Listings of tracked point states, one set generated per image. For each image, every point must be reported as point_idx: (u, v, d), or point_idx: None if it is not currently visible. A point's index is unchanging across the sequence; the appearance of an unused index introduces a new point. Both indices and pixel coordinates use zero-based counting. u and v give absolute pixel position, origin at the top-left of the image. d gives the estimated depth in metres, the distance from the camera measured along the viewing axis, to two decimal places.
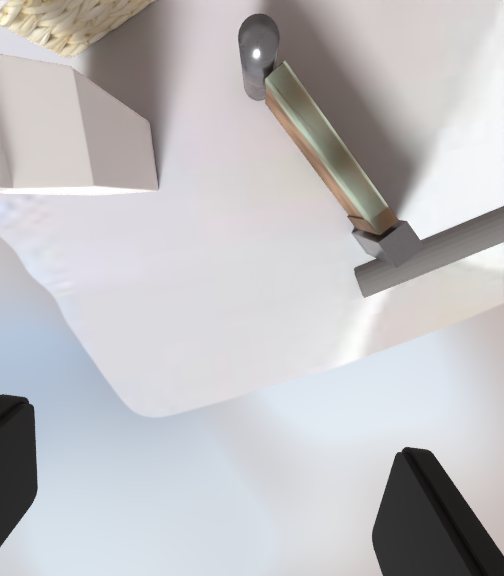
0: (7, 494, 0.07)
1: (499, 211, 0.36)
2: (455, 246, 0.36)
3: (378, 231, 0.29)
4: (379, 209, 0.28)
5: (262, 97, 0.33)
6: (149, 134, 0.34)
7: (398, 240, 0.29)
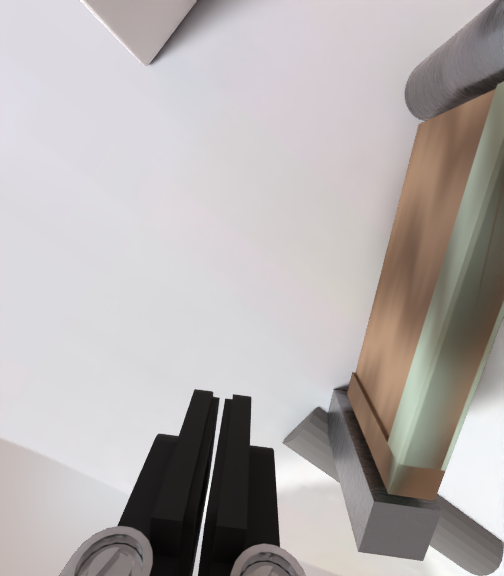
0: (208, 474, 0.09)
1: (481, 531, 0.25)
2: None
3: (392, 488, 0.14)
4: (428, 463, 0.13)
5: (422, 112, 0.17)
6: None
7: (402, 523, 0.14)
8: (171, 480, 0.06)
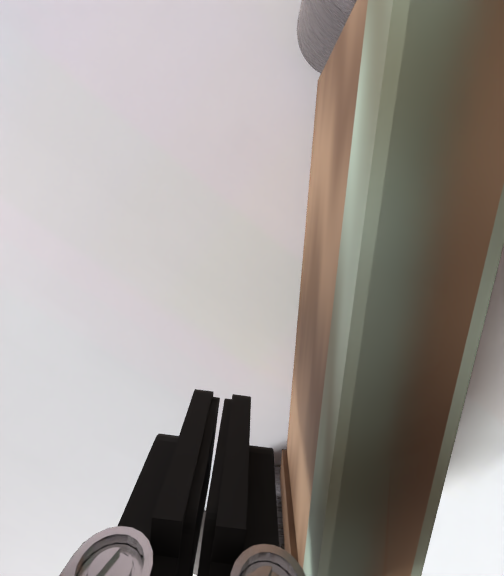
0: (208, 474, 0.09)
1: None
2: None
3: None
4: None
5: (320, 60, 0.11)
6: None
7: None
8: (171, 480, 0.06)
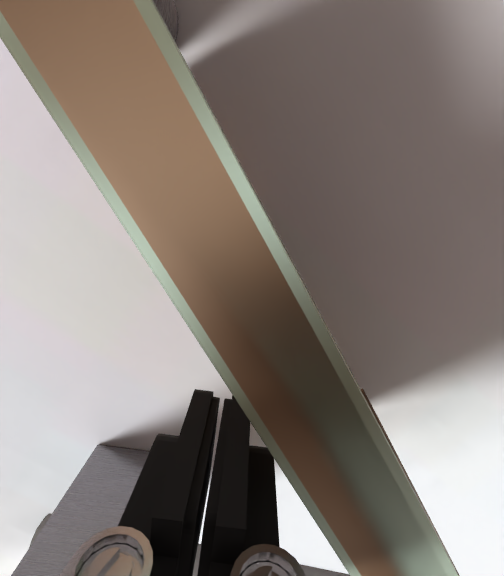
0: (208, 474, 0.09)
1: None
2: None
3: None
4: None
5: None
6: None
7: None
8: (171, 480, 0.06)
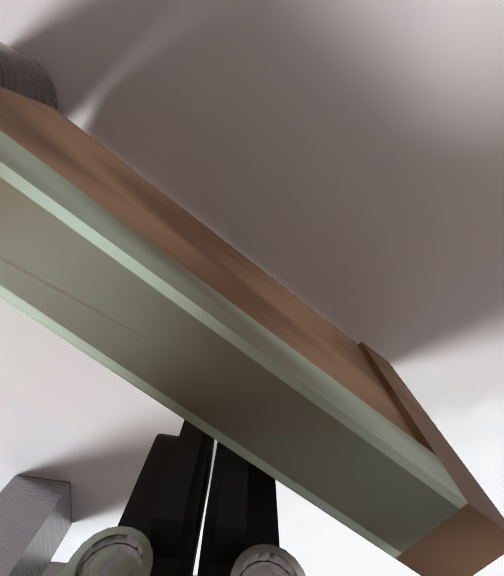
0: (208, 474, 0.09)
1: None
2: None
3: None
4: (430, 519, 0.07)
5: None
6: None
7: None
8: (171, 480, 0.06)
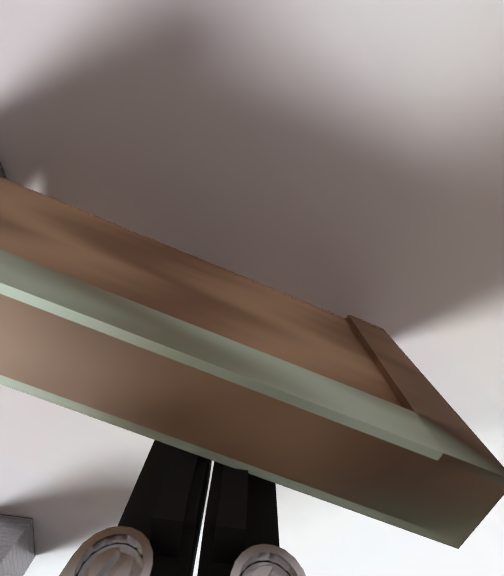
0: (208, 474, 0.09)
1: None
2: None
3: (447, 539, 0.07)
4: (412, 477, 0.06)
5: None
6: None
7: None
8: (171, 480, 0.06)
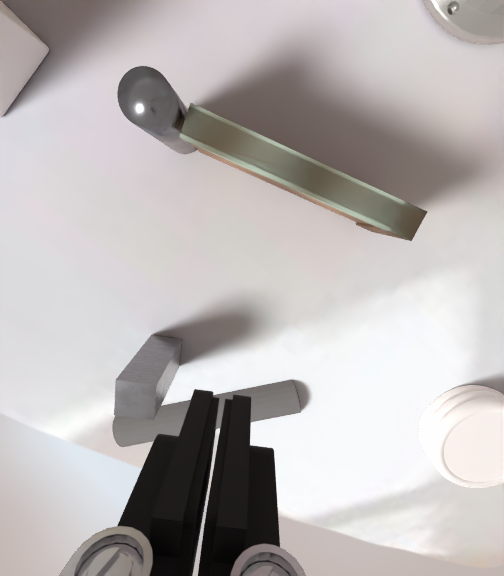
0: (207, 474, 0.09)
1: (270, 387, 0.33)
2: (218, 416, 0.33)
3: (407, 237, 0.21)
4: (395, 211, 0.21)
5: None
6: (34, 60, 0.26)
7: (135, 394, 0.24)
8: (171, 480, 0.06)
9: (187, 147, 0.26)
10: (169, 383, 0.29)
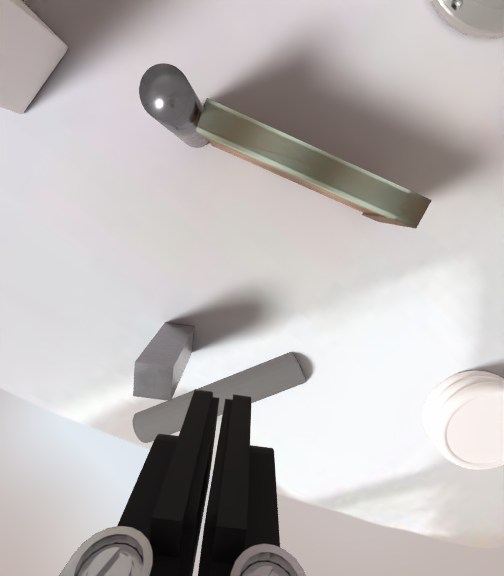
0: (208, 474, 0.09)
1: (272, 362, 0.34)
2: None
3: (412, 224, 0.22)
4: (401, 200, 0.22)
5: (186, 143, 0.28)
6: (54, 58, 0.27)
7: (153, 376, 0.25)
8: (171, 480, 0.06)
9: (200, 141, 0.27)
10: (183, 367, 0.30)
